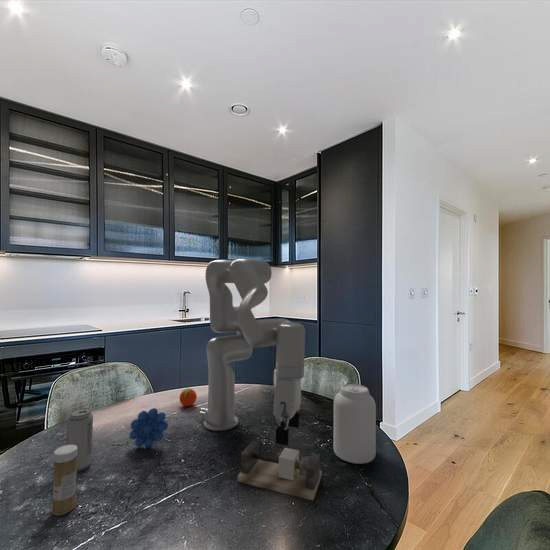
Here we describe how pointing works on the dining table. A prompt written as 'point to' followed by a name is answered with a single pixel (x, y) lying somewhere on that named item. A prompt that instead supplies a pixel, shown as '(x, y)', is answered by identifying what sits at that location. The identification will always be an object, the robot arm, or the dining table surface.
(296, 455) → the sleeve
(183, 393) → the clementine
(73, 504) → the pill bottle
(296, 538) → the dining table surface
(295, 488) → the small bench vise
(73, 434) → the energy drink can
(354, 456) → the can
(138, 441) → the grapes
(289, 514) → the dining table surface
